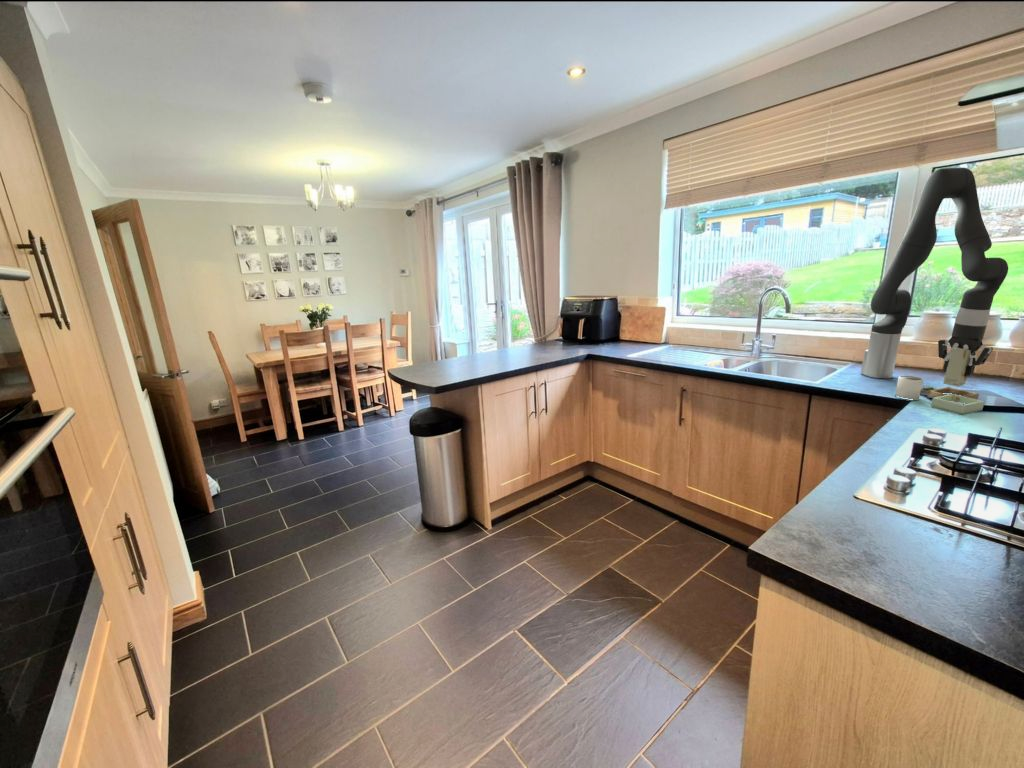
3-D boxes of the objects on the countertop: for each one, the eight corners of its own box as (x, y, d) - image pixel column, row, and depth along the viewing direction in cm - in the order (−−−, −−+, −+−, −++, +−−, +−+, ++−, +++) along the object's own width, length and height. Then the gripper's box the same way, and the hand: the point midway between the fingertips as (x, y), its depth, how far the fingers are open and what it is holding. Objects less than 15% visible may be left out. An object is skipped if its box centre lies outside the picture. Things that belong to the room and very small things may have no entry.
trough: (930, 406, 153) (932, 397, 153) (950, 402, 157) (952, 393, 156) (962, 415, 146) (964, 405, 145) (982, 410, 149) (984, 401, 148)
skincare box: (959, 387, 155) (969, 350, 152) (942, 384, 159) (951, 348, 155) (966, 383, 159) (976, 347, 155) (949, 380, 162) (958, 345, 158)
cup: (890, 396, 164) (894, 376, 162) (902, 393, 166) (906, 374, 164) (910, 401, 158) (915, 381, 156) (923, 399, 161) (928, 378, 159)
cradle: (909, 393, 167) (910, 386, 166) (928, 389, 170) (930, 382, 170) (956, 405, 154) (958, 398, 153) (977, 401, 158) (979, 393, 157)
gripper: (1006, 325, 147) (990, 378, 153) (951, 318, 160) (938, 367, 165) (992, 327, 145) (976, 381, 150) (937, 320, 158) (924, 369, 163)
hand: (956, 373), depth 158 cm, fingers closed on skincare box, 5 cm apart
